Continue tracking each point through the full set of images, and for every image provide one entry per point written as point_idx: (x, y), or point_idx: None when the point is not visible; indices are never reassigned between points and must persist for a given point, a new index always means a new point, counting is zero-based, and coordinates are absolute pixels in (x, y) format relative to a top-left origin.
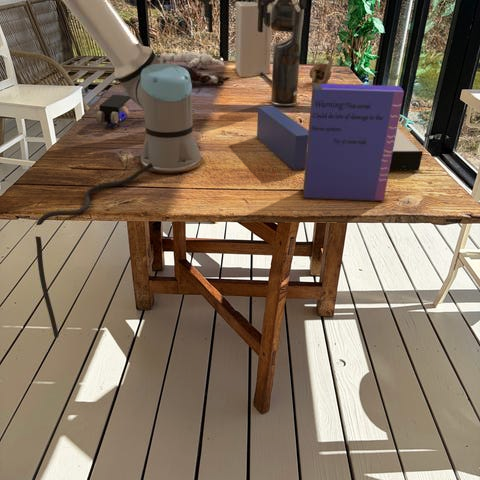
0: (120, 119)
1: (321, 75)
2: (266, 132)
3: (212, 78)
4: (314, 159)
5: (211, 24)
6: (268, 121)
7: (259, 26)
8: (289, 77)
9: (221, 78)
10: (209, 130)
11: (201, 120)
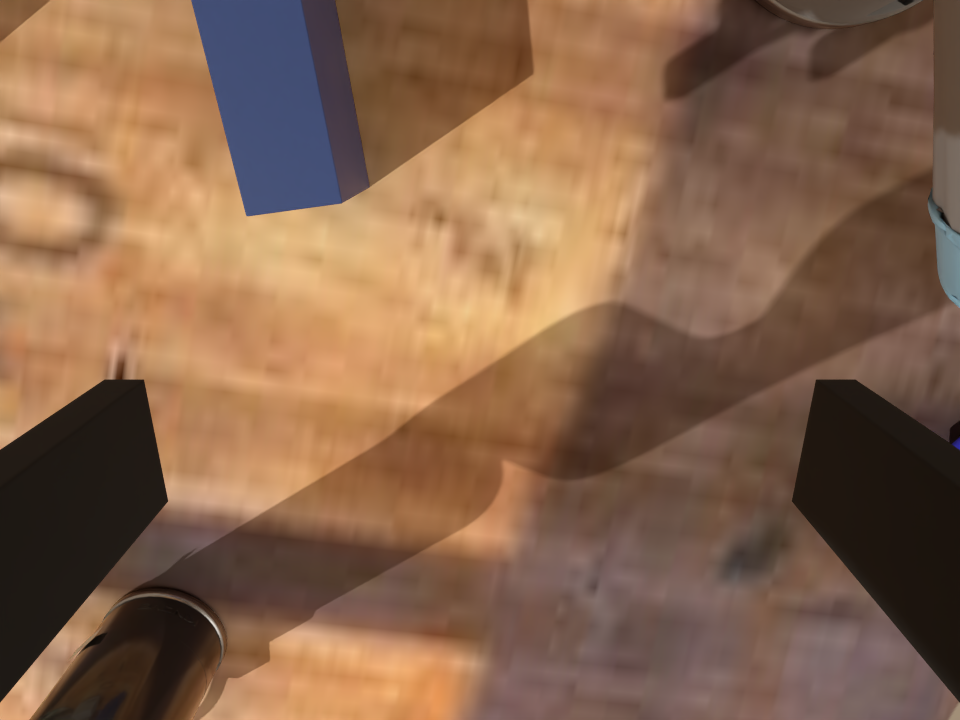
0: None
1: None
2: (332, 48)
3: None
4: None
5: (888, 423)
6: (311, 12)
7: (112, 449)
8: (78, 699)
9: None
10: (575, 316)
11: (583, 457)
